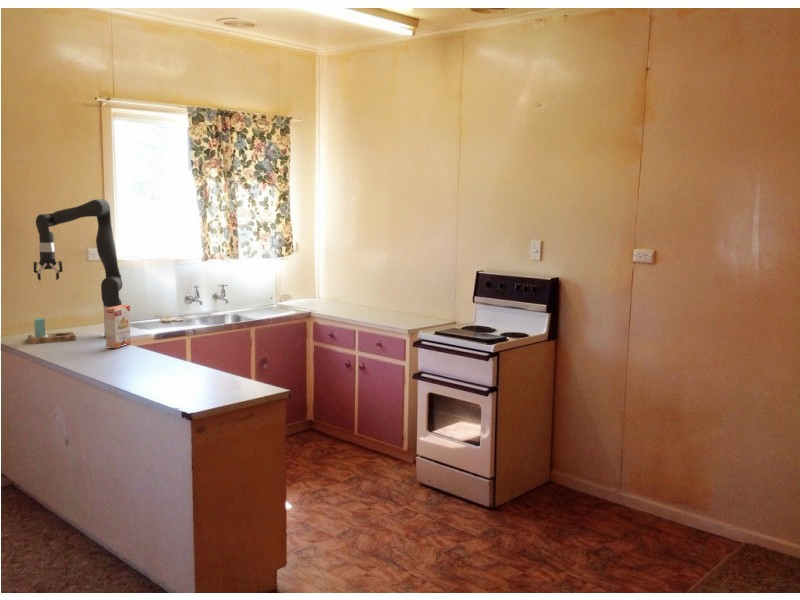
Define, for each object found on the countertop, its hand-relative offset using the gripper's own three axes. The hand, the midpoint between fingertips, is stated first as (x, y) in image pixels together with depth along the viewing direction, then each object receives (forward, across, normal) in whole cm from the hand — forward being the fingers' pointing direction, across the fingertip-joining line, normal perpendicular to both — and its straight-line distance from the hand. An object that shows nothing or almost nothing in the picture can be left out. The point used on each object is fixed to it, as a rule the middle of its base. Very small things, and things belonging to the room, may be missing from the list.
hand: (48, 280), depth 400 cm
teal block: (+27, -7, -21) cm, 35 cm away
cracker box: (+30, +27, -49) cm, 64 cm away
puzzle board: (+30, -2, -21) cm, 37 cm away
